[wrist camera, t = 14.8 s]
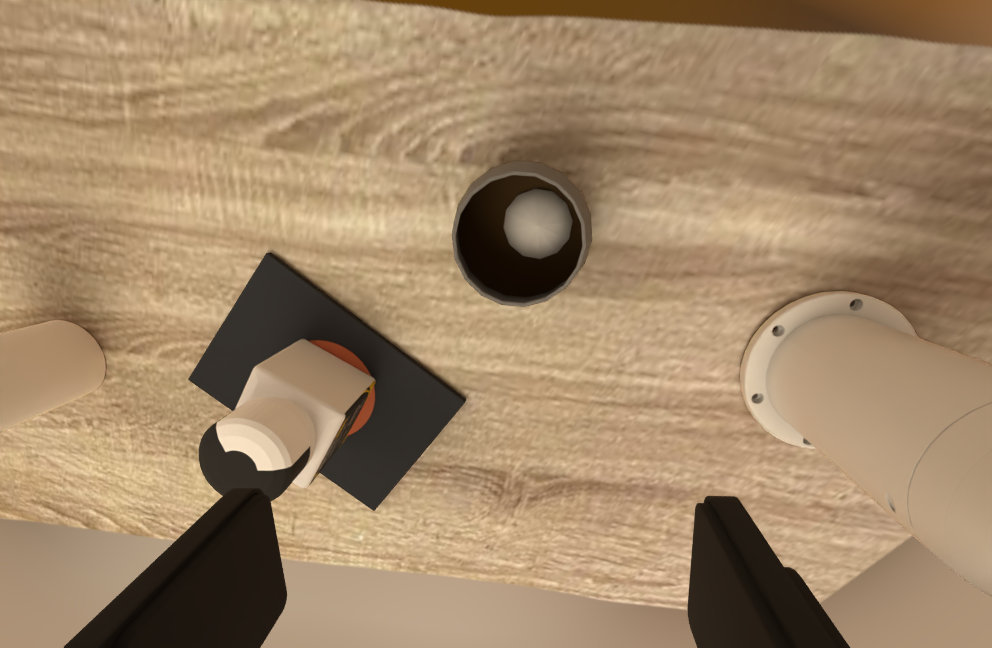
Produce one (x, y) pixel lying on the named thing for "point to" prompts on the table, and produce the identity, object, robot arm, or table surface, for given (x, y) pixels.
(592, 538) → the table surface
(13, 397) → the cylindrical container
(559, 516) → the table surface
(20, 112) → the table surface
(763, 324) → the robot arm
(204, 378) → the mat
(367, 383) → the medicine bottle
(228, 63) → the table surface
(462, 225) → the cup
